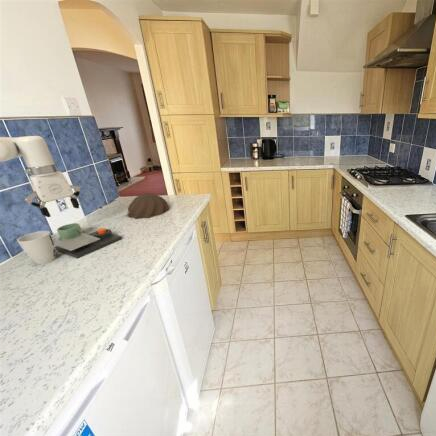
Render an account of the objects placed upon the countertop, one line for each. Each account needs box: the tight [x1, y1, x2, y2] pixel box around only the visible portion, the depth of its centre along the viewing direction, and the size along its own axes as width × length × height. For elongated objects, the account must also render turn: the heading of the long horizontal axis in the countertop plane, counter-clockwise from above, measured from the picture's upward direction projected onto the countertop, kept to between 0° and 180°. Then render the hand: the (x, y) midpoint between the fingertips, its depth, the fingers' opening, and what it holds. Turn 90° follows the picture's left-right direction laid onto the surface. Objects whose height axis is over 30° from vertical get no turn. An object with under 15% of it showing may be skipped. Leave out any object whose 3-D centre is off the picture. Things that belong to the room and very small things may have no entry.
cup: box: [16, 230, 57, 265], centre depth 86 cm, size 8×8×10 cm
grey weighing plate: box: [54, 232, 100, 251], centre depth 94 cm, size 12×10×1 cm
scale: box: [54, 228, 123, 259], centre depth 98 cm, size 16×16×3 cm
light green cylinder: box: [56, 222, 84, 241], centre depth 102 cm, size 7×7×6 cm
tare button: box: [96, 227, 107, 234], centre depth 101 cm, size 3×3×2 cm
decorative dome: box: [127, 192, 170, 220], centre depth 128 cm, size 19×20×10 cm
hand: (62, 212), depth 99 cm, fingers open, 9 cm apart
